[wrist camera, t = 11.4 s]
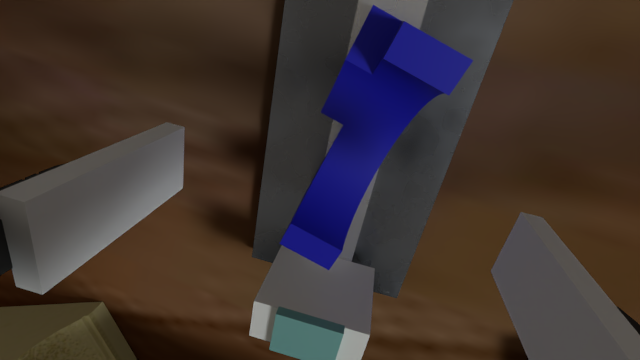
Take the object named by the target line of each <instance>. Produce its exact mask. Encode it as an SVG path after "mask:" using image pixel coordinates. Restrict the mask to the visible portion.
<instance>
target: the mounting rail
mask: <svg viewBox="0 0 640 360" xmlns="http://www.w3.org/2000/svg"><path fill="white" fill-rule="evenodd" d="M512 3H513V0H285V4H284V12H283V19H282V27H281V35H280V43H279V51H278V58H277V66H276V74H275V82H274V90H273V97H272V105H271V113H270V121H269V129H268V136H267V144H266V152H265V160H264V168H263V175H262V183H261V191H260V199H259V207H258V214H257V222H256V230H255V238H254V246H253V253H252V257H254V258H257V259H261V260H264V261H268V262H271V263H273V262H274V260H275V258H276V256H277V254H278V252H279V250H280V248H281V246H282V245H281V244H280V242H281V240H282V238H283V236H284V234H285V232H286V230H287V228H288V226H289V224H290V222H291V220H292V218H293V216H294V214H295V212H296V210H297V208H298V206H299V204H300V202H301V200H302V198H303V196H304V194H305V193H306V191H307V189H308V187H309V185H310V184H311V182H312V180H313V178H314V176H315V175H316V173H317V171H318V169H319V167H320V166H321V164H322V162H323V160H324V158H325V157H326V155H327V153H328V151H329V149H330V148H331V146H332V144H333V142H334V140H335V139H336V137H337V135H338V133H339V131H340V130H341V128H342V126H343V125H342V124H341V123H339V122H337V121H335V120H333V119H332V118H330V117H328V116H326V115H324V114H323V113H321V110H322V108H323V106H324V104H325V102H326V100H327V98H328V96H329V94H330V92H331V90H332V88H333V86H334V84H335V82H336V79H337V77H338V75H339V73H340V71H341V68H342V66H343V64H344V62H345V59H346V57H347V55H348V53H349V51H350V49H351V47H352V45H353V43H354V42H355V40H356V38H357V36H358V34H359V32H360V30H361V28H362V26H363V24H364V22H365V20H366V18H367V16H368V14H369V12H370V10H371V8H372V6H373V5H375V6H376V7H378V8H380V9H382V10H383V11H385V12H387V13H389V14H390V15H392V16H394V17H396V18H397V19H399V20H401V21H405V22H407V23H409V24H410V25H412V26H414V27H416V28H417V29H419V30H421V31H423V32H424V33H426V34H428V35H430V36H431V37H433V38H435V39H437V40H438V41H440V42H442V43H444V44H445V45H447V46H449V47H451V48H452V49H454V50H456V51H458V52H459V53H461V54H463V55H465V56H466V57H468V58H470V59H472V60H473V62H472V63H471V65H470V66H469V68H468V69H467V70H466V72H465V73H464V75H463V76H462V78H461V79H460V81H459V82H458V84H457V85H456V86H455V88H454V89H453V91H452V92H451V94H450V95H447V94H440V95H438V96H436V97H435V98H433V99H432V100H431V101H429V102H428V103H427V104H426V105H425V106H424V107H423V108H422V109H421V110H420V111H419V112H418V113H417V114H416V116H415V117H414V118H413V119H412V120H411V121H410V123H409V124H408V125H407V127H406V128H405V129H404V130H403V132H402V133H401V134H400V136H399V137H398V139H397V140H396V142H395V143H394V144H393V146H392V147H391V149H390V150H389V152H388V154H387V155H386V157H385V158H384V160H383V162H382V163H381V165H380V167H379V168H378V170H377V172H376V173H375V175H374V177H373V179H372V181H371V182H370V184H369V186H368V188H367V190H366V192H365V194H364V196H363V198H362V200H361V202H360V204H359V206H358V208H357V211H356V213H355V215H354V218H353V220H352V222H351V225H350V228H349V230H348V233H347V236H346V239H345V242H344V246H343V250H342V252H341V254H340V255H339V257H338V258H339V259H343V260H346V261H350V262H354V263H357V264H361V265H364V266H368V267H372V268H375V272H374V286H373V292H377V293H380V294H384V295H387V296H391V297H394V298H397V296H398V293H399V291H400V288H401V286H402V283H403V281H404V278H405V276H406V273H407V270H408V268H409V265H410V263H411V260H412V258H413V255H414V253H415V250H416V248H417V245H418V242H419V240H420V237H421V235H422V232H423V230H424V227H425V225H426V222H427V219H428V217H429V214H430V212H431V209H432V207H433V204H434V202H435V199H436V197H437V194H438V191H439V189H440V186H441V184H442V181H443V179H444V176H445V174H446V171H447V168H448V166H449V163H450V161H451V158H452V156H453V153H454V151H455V148H456V146H457V143H458V140H459V138H460V135H461V133H462V130H463V128H464V125H465V123H466V120H467V117H468V115H469V112H470V110H471V107H472V105H473V102H474V100H475V97H476V95H477V92H478V89H479V87H480V84H481V82H482V79H483V77H484V74H485V72H486V69H487V67H488V64H489V61H490V59H491V56H492V54H493V51H494V49H495V46H496V44H497V41H498V38H499V36H500V33H501V31H502V28H503V26H504V23H505V21H506V18H507V16H508V13H509V10H510V8H511V5H512Z"/></svg>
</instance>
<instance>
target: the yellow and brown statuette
mask: <svg viewBox="0 0 640 360" xmlns="http://www.w3.org/2000/svg"><path fill="white" fill-rule="evenodd" d="M0 360H137V358H136V357H135V355H134V353H133V352H132V350H131V348H130V347H129V345H128V343H127V342H126V340H125V338H124V336H123V335H122V333H121V331H120V330H119V328H118V326H117V325H116V323H115V321H114V320H113V318H112V316H111V314H110V313H109V311H108V309H107V308H106V306H105V304H104V303H103V302H86V303H67V304H48V305H30V306H11V307H0Z"/></svg>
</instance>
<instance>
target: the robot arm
mask: <svg viewBox="0 0 640 360" xmlns="http://www.w3.org/2000/svg"><path fill="white" fill-rule="evenodd" d="M184 129H185V127H182V126H178V125H174V124H170V123H164V124H162V125H159V126H157V127H154V128H152V129H150V130H147V131H145V132H142V133H140V134H137V135H135V136H133V137H130V138H128V139H125V140H123V141H120V142H118V143H115V144H113V145H111V146H108V147H106V148H103V149H101V150H98V151H96V152H94V153H91V154H89V155H86V156H84V157H81V158H79V159H76V160H74V161H72V162H69V163H67V164H62V165H57V166H54V167H51V168H49V169H46V170H44V171H41V172H39V174H34V175H31V176H29V177H26V178H25V180H22V179H21V180H19V181H16V182H14V183H11V184H9V185H6V186H4V187H2V188H0V275H2V274H4V273H5V272H7V271H8V270H10V269H12V272H13V276H14V280H15V285H16V287H19V288H22V289H25V290H28V291H32V292H35V293H38V294H41V295H43V294H44V293H46V292H47V291H48V290H50V289H51V288H52V287H54V286H55V285H56V284H58V283H59V282H60V281H62V280H63V279H64V278H66V277H67V276H68V275H69V274H71V273H72V272H73V271H75V270H76V269H77V268H79V267H80V266H81V265H83V264H84V263H85V262H87V261H88V260H89V259H90V258H92V257H93V256H94V255H96V254H97V253H98V252H100V251H101V250H102V249H104V248H105V247H106V246H108V245H109V244H110V243H111V242H113V241H114V240H115V239H117V238H118V237H119V236H121V235H122V234H123V233H125V232H126V231H127V230H129V229H130V228H131V227H133V226H134V225H135V224H136V223H138V222H139V221H140V220H142V219H143V218H144V217H146V216H147V215H148V214H150V213H151V212H152V211H154V210H155V209H156V208H157V207H159V206H160V205H161V204H163V203H164V202H165V201H167V200H168V199H169V198H171V197H172V196H173V195H175V194H176V193H177V192H178V191H180V190H181V189H182V188H183V166H184ZM491 273H492V275H493V277H494V280H495V282H496V285H497V287H498V289H499V292H500V294H501V296H502V299H503V301H504V303H505V306H506V308H507V310H508V313H509V315H510V317H511V320H512V322H513V324H514V327H515V329H516V331H517V334H518V336H519V339H520V341H521V343H522V346H523V348H524V350H525V353H526V355H527V357H528V360H640V325H639V324H638V323H637V322H636V321H635V320H633V319H632V318H631V317H630V316H628V315H627V314H626V313H625V312H624V311H622V310H621V309H620V308H619V307H616V306H615V305H614V303H613V302H612V301H611V300H610V298H609V297H608V296H607V295H606V294H605V292H604V291H603V290H602V289H601V288H600V286H599V285H598V284H597V283H596V282H595V280H594V279H593V278H592V277H591V276H590V274H589V273H588V272H587V271H586V269H585V268H584V267H583V266H582V265H581V263H580V262H579V261H578V260H577V259H576V257H575V256H574V255H573V254H572V253H571V251H570V250H569V249H568V248H567V246H566V245H565V244H564V243H563V242H562V240H561V239H560V238H559V237H558V236H557V234H556V233H555V232H554V231H553V230H552V228H551V227H550V226H549V225H548V223H547V222H546V221H545V220H544V219H543V218H542V217H539V216H535V215H531V214H527V213H523V212H521V213H520V215H519V217H518V219H517V221H516V223H515V225H514V227H513V229H512V231H511V233H510V235H509V237H508V238H507V240H506V242H505V244H504V246H503V248H502V250H501V252H500V254H499V256H498V258H497V260H496V262H495V264H494V266H493V268H492V270H491Z"/></svg>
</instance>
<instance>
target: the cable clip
mask: <svg viewBox="0 0 640 360" xmlns="http://www.w3.org/2000/svg"><path fill="white" fill-rule="evenodd" d="M472 62H473V60H472V59H470V58H468V57H466V56H465V55H463V54H461V53H459V52H458V51H456V50H454V49H452V48H451V47H449V46H447V45H445V44H444V43H442V42H440V41H438V40H437V39H435V38H433V37H431V36H430V35H428V34H426V33H424V32H423V31H421V30H419V29H417V28H416V27H414V26H412V25H410V24H409V23H407V22H405V21H401V20H399V19H397V18H396V17H394V16H392V15H390V14H389V13H387V12H385V11H383V10H382V9H380V8H378V7H376V6H375V5H373V6H372V8H371V10H370V12H369V14H368V16H367V18H366V20H365V22H364V24H363V26H362V28H361V30H360V32H359V34H358V36H357V38H356V40H355V42H354V43H353V45H352V47H351V49H350V51H349V53H348V55H347V57H346V59H345V62H344V64H343V66H342V68H341V71H340V73H339V75H338V77H337V79H336V82H335V84H334V86H333V88H332V90H331V92H330V94H329V96H328V98H327V100H326V102H325V104H324V106H323V108H322V110H321V113H323V114H324V115H326V116H328V117H330V118H332V119H333V120H335V121H337V122H339V123H341V124H342V125H343V126H342V128H341V130H340V131H339V133H338V135H337V137H336V139H335V140H334V142H333V144H332V146H331V148H330V149H329V151H328V153H327V155H326V157H325V158H324V160H323V162H322V164H321V166H320V167H319V169H318V171H317V173H316V175H315V176H314V178H313V180H312V182H311V184H310V185H309V187H308V189H307V191H306V193H305V194H304V196H303V198H302V200H301V202H300V204H299V206H298V208H297V210H296V212H295V214H294V216H293V218H292V220H291V222H290V224H289V226H288V228H287V230H286V232H285V234H284V236H283V238H282V240H281V242H280V244H281V245H283V246H284V247H286V248H288V249H290V250H292V251H294V252H296V253H298V254H299V255H301V256H303V257H305V258H307V259H309V260H311V261H312V262H314V263H316V264H318V265H320V266H322V267H324V268H326V269H327V270H330V268H331V267H332V265H333V264H334V262H335V261H336V259H337V258H338V257H339V255H340V254H341V252H342V250H343V246H344V242H345V239H346V236H347V233H348V230H349V228H350V225H351V222H352V220H353V218H354V215H355V213H356V211H357V208H358V206H359V204H360V202H361V200H362V198H363V196H364V194H365V192H366V190H367V188H368V186H369V184H370V182H371V181H372V179H373V177H374V175H375V173H376V172H377V170H378V168H379V167H380V165H381V163H382V162H383V160H384V158H385V157H386V155H387V154H388V152H389V150H390V149H391V147H392V146H393V144H394V143H395V142H396V140H397V139H398V137H399V136H400V134H401V133H402V132H403V130H404V129H405V128H406V127H407V125H408V124H409V123H410V121H411V120H412V119H413V118H414V117H415V116H416V114H417V113H418V112H419V111H420V110H421V109H422V108H423V107H424V106H425V105H426V104H427V103H428V102H429V101H431V100H432V99H433V98H435V97H436V96H438V95H440V94H447V95H450V94H451V92H452V91H453V89H454V88H455V86H456V85H457V84H458V82H459V81H460V79H461V78H462V76H463V75H464V73H465V72H466V70H467V69H468V68H469V66H470V65H471V63H472Z"/></svg>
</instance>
